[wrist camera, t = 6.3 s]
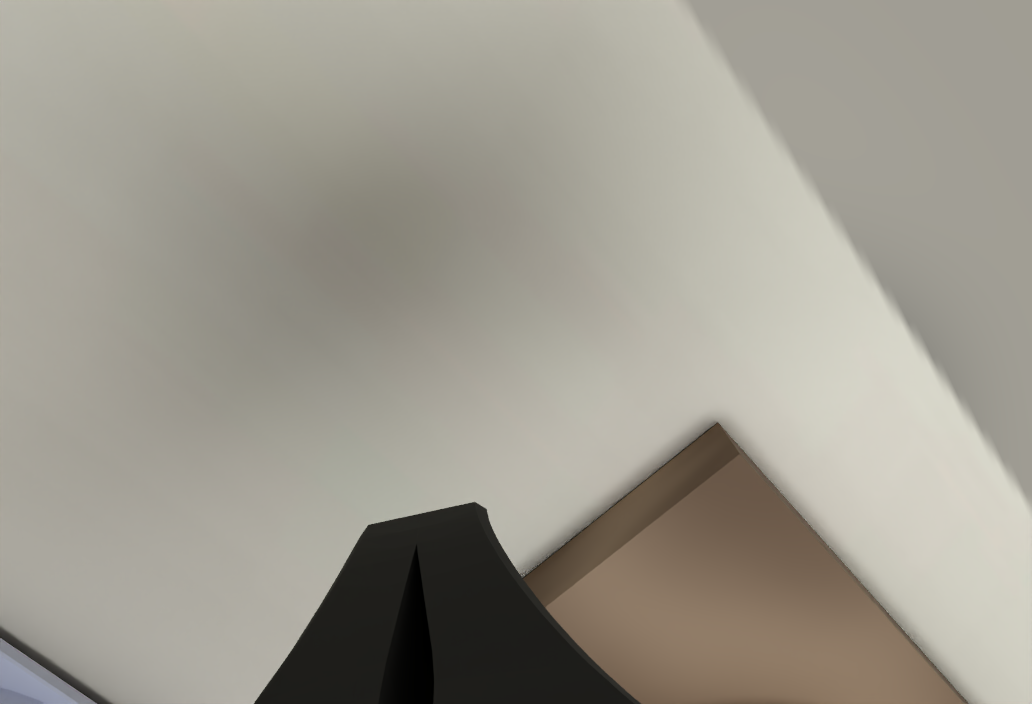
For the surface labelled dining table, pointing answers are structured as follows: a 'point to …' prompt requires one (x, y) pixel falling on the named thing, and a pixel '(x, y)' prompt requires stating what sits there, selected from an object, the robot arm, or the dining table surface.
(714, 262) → the dining table surface
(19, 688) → the robot arm
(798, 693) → the walnut stand
